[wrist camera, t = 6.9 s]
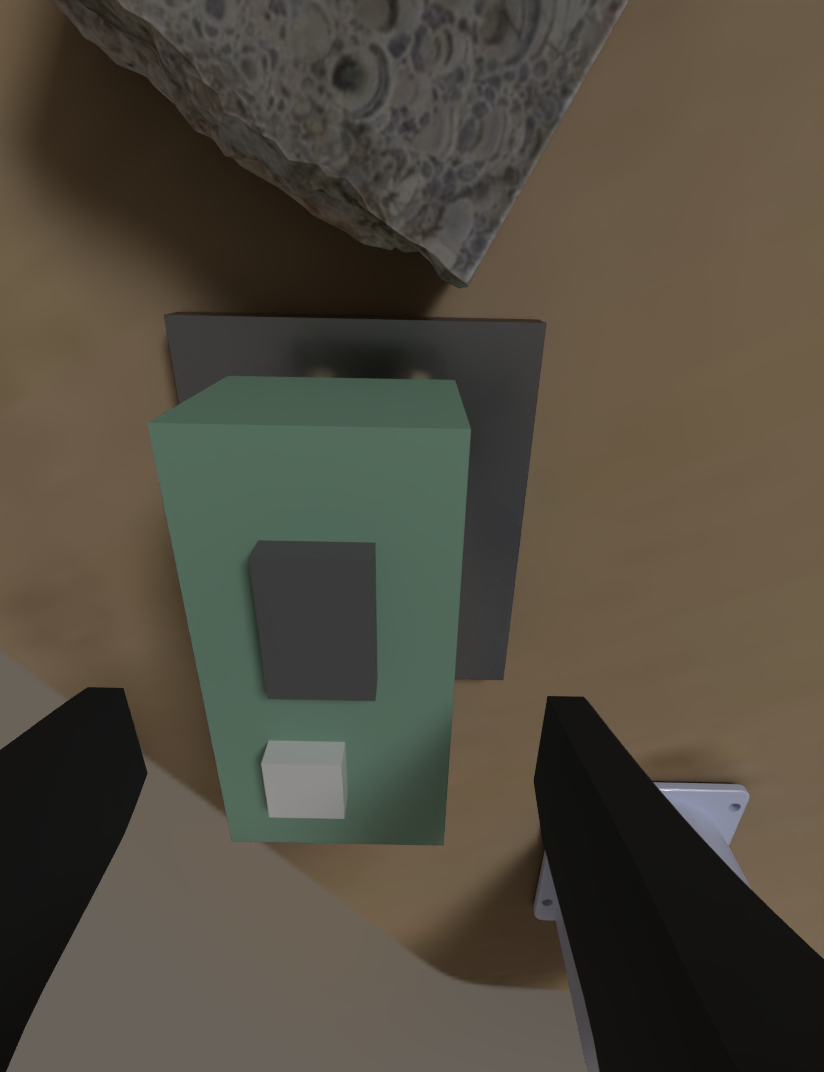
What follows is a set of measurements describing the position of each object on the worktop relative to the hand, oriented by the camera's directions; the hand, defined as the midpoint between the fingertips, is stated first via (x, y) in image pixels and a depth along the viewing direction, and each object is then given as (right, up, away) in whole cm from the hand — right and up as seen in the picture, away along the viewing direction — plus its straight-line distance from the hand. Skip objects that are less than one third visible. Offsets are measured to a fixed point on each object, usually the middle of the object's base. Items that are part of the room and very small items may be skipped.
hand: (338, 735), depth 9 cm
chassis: (0, +4, +8) cm, 9 cm away
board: (0, +2, +5) cm, 5 cm away
